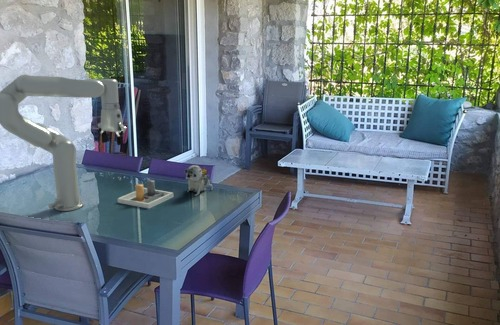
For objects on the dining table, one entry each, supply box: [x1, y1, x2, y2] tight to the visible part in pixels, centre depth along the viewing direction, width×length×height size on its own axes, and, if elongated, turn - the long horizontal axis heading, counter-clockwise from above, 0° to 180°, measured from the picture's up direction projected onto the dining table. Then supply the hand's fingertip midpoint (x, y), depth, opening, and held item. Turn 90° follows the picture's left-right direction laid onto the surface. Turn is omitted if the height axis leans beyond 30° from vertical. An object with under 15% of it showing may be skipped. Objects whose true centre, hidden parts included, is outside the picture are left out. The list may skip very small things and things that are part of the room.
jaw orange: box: [134, 183, 146, 202], centre depth 222 cm, size 5×5×8 cm
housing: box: [117, 187, 174, 210], centre depth 226 cm, size 18×18×3 cm
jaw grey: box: [146, 179, 156, 197], centre depth 229 cm, size 5×5×8 cm
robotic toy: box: [184, 164, 214, 197], centre depth 236 cm, size 13×17×15 cm
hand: (112, 143), depth 226 cm, fingers open, 9 cm apart
